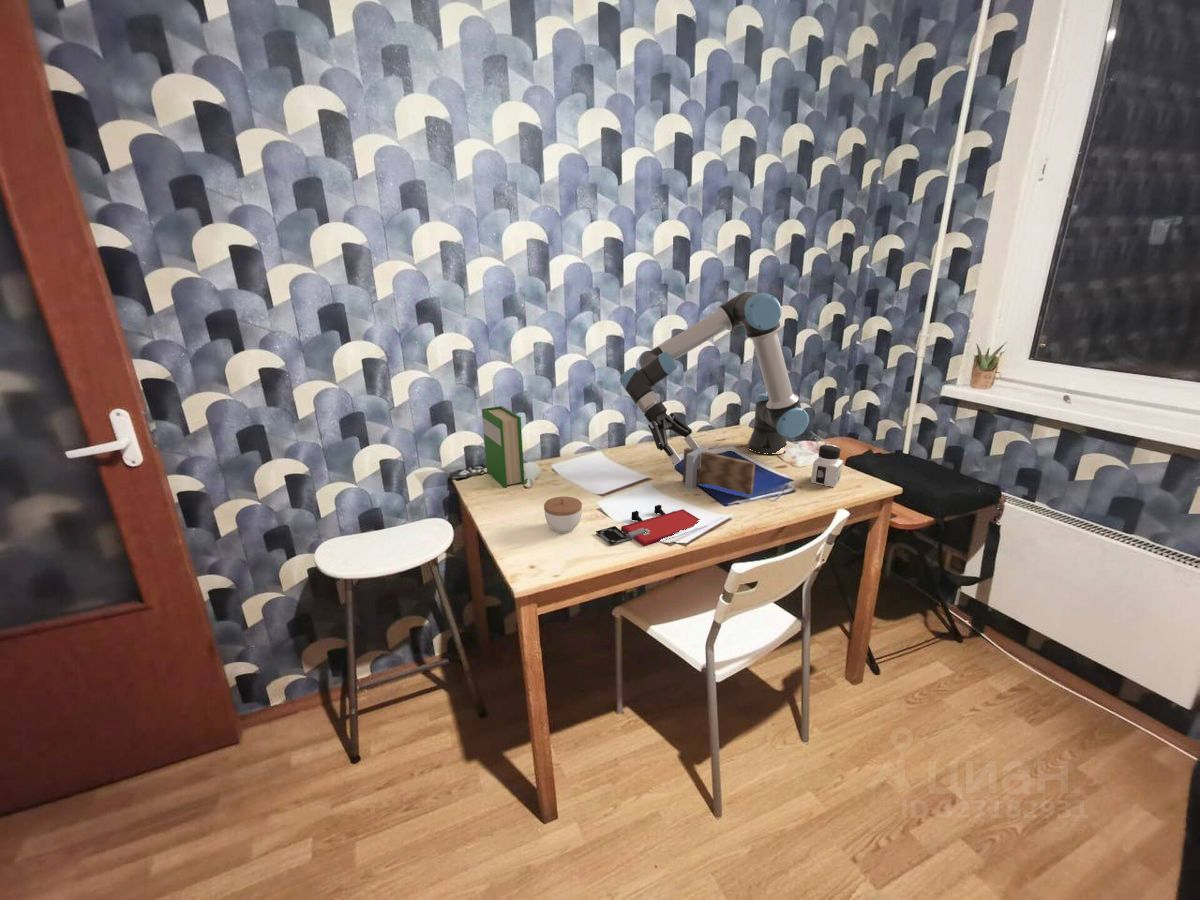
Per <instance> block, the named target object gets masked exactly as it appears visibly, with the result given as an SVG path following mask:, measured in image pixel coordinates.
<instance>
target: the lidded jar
mask: <svg viewBox="0 0 1200 900" xmlns="http://www.w3.org/2000/svg"><path fill="white" fill-rule="evenodd" d="M582 508H583V504H582V501H581V500H580V499H578V498H577V497H572V496H564V495H563V496H556V497H555V496H554V497H553V498H552V497H551V498H550V499H548V500H546V501H545V502H544V504H543V509H544V517H545V520H546V523H547V525H548V526H549V527H550V529H552V530H553V531H554V532H555V533H556V534H569V533H572V532H573V531H574V530H575V529H576V528H577V526H578V525H579V524H580V522H581V519H582V511H583V510H582Z"/></svg>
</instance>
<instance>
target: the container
mask: <svg viewBox="0 0 1200 900" xmlns="http://www.w3.org/2000/svg"><path fill="white" fill-rule="evenodd" d="M840 455H841V448H840V447H839V446H837V445H834V444H823V445H820V446H819V450H818V456H817V458H816V459H815V461H813V463H812V472H811V478H810V479H811V480H810V483H811V484H814V483H816V484H815V485H819V484H820V486H823V485H825V487H828V486H831V487H830V488H832V487H834V488H835V487H836V486H837V485H838V484H839V483H840V481H841V475H842V468H843V464H844V463H843V462H844V460H842V459H840ZM836 484H837V485H836ZM835 485H836V486H835Z"/></svg>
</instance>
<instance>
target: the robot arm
mask: <svg viewBox="0 0 1200 900" xmlns="http://www.w3.org/2000/svg"><path fill="white" fill-rule="evenodd" d="M782 313H783V312H782V306H781V303H780V301H779V300H778V299H777V298H776V297H775V296H774V295H771V294H769V293H767V292H755V291H745V292H741V293H739V294H738V295H735V296H734V297H732V298H731V299H729V300H727V301H726V302H724V303H723V304H721V305H720V306H717V308H716V311H715V312H712V313H711V314H710V315H708V316H706V317H705V318H703V319H702V320H699V322H696V323H695V324H693V325H691V326H689V327H688V328H686V329H684V330H683V331H682V332H680V333H678V334H676V335H675V336H673V337H671V338H669V339H668V340H667V341H664V342H663V343H662V344H659V345H658V346H656V347H655V348H653V349H650V350H644V351H643V352H642V353H640V355H639V358H638V364H639V367H640V368H639V369H637V367H630V368H629V369H627V370H626V371H624V372H623V373H622V374H621V375H620V377H619V382H620V384H621V386H622V387H623V389H624V391H625V392H626V393H627V394H628V395H629V397H630V398H631V400H633V402H634V404H636V406H637V408H638V409H639V410H640V411H641V413H643V414H644V417H645V418H646V420H647V421H648V423H649V424H648V425H647V426H648V428H649V430H650V432H651V434H652V437H653V440H654V442H655V443H654V444H655V446H656V448H657V450H660V451H663V450H664V452H665V454H666V455H667V456H668V457H669V458H670V460H671V461H672V462H673V464H674V465H675V466H676V465H678V464H679V463H681V461H682V458H681V457H680V456H679V454H678V453H677V452H676V450H675V449H674V447H673V446H672V444H669V442H668V435H667V431H668V430H669V431H672V432H673V431H674V432H675V433H677V434H678V435H680V436H682V437H683V438H684V439H683V440H684V441H685V442H686V444H687V445H688V447H689V448H690V449H693V451H694V450H696V449H698V448H699V447H700V445H699V444H698V443H697V442H696V440H695V439H694V437H693V436H692V433H693V430H692V428H690V427H689V426H688V425H686V423H684V422H683V421H682V420H680V419H679V418H678V417H677V416H676V415H675V414H674V413H673V412H671V413H670V414H667V410H668V409H667V408H666V406H665V404H664V403H663V402H662V401H661V399H660V398H659V396H658V395H657V394H656V392H655V391H654V390H653V389H652V388H653V387H654V386H656V385H657V384H658V383H660V382H661V381H662V380H664V379H666V377H668V376H670V375H671V374H672V373H674V372H675V370H677V367H678V365H677V363H676V361H675V360H677V359H678V358H680V357H683V356H684V355H686V354H688V353H689V352H691V351H692V350H694V349H696V348H698V347H699V346H701V345H702V344H704V343H706V342H708V341H709V340H711V339H712V338H714V337H715V336H718V335H720V334H721V333H723V332H725V331H727V330H728V331H731V330H733V329H735V328H737V327H740V326H743V328H744V332H745V334H746V335H745V336H746V338H748V339H750V340H752V344H753V346H754V351H755V354H756V357H757V362H758V365H759V367H760V373H761V375H762V379H763V382H764V386H765V390H766V392H765V393H764V392H763V393H759V394H757V396H756V401H755V409H754V410H755V411H754V422H753V423H754V424H753V425H754V426H753V431H752V433H751V436H750V438H749V440H748V442H747V449H748V448H749V449H751V450H753V451H756V452H760V453H766V454H767V453H768V454H772V453H776V452H777V451H779V450H780V449H781V448H783V447H785V446H786V445H787V446H788V444H787V439H786V438H790V439H791V438H796V437H798V436H800V435H802V434H803V433H804V432H805V430H806V429H807V428H808V425H809V422H810V418H809V414H808V412H806V410H805V409H803V408H802V406H801V401H800V397H799V395H797V394H795V393H794V392H793V389H792V385H791V381H790V378H789V377H790V376H789V374H788V370H787V366H786V361H785V356H784V354H783V353H784V352H783V350H782V345H781V342H780V339H779V334H778V332H779V330H780V328H781V324H780V319H781V318H782ZM749 449H748V450H749Z"/></svg>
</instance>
